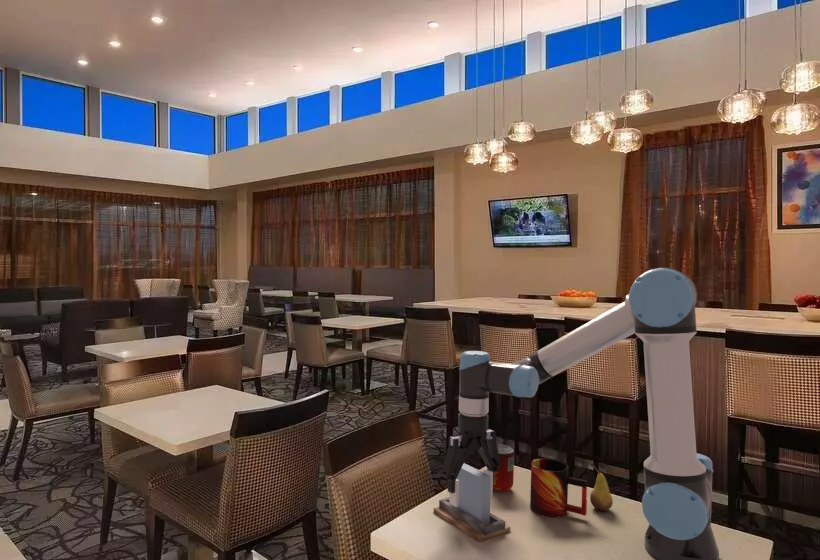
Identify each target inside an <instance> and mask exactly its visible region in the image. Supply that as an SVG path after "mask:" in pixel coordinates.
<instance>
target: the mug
mask: <svg viewBox="0 0 820 560" xmlns="http://www.w3.org/2000/svg"><path fill="white" fill-rule="evenodd" d="M569 485H572V486H576V487H579V488H580V487H581V506H577V505H574V504H569V503H568V502H569V501H568V498H569V497H568V496H569V495H568V494H569V492H568V491H569V490H568V489H569ZM587 491H588V480H585V479H582V478H576V477H571V476H569V465H568V464H567V463H565V462H563V461H560V460H556V459H554V458H553V459H551V458H537V459H533V460H532V461H531V463H530V500H529V501H530V503H529V505H530V506H529V507H530V508H529V509H530V511H531V512H532V513H533V514H536V515H538V516H541V517H544V518H545V517H546V518H551V519H552V518H553V519H556V518H563V517H565V516H567V513H568V512H570V513H573V514H577V515H581V516H587V506H588V505H587V504H588V499H587V496H588V495H587V493H588V492H587Z"/></svg>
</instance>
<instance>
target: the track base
mask: <svg viewBox="0 0 820 560" xmlns="http://www.w3.org/2000/svg"><path fill="white" fill-rule="evenodd" d="M438 503H439V504H438V506H437V507H433V513H434V514H436V515H438V516H439V518H440V517H441V518H442V519H443V520H445V521H446V522H449V523H450V524H451V525H453V526H454V527H456V528H458V530H461V531H463V533H465V534H467V535H468V536H470V537H472V538H473V539H475V540H476V541H478V542H482V541H486V540H488V539H491V538H494V537H496V536H500V535H502V534H506V533H508V532H511V526H510V525H508V524H507V523H506V520H504V519H502V518H500V517H499V516H497V515H495V514H493V513H492V512H490V524H488V525H486V524H484V523H482V522H481V521H479V520H477V519H476V518H474V517H472V516H471V515H469V514H467V513H466V512H464V511H462V510H461V509H459V508H457V507H455V506H453V505H451V504H450V503H449V497H446V498H442V499H439V501H438Z"/></svg>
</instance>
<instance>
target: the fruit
mask: <svg viewBox="0 0 820 560" xmlns="http://www.w3.org/2000/svg"><path fill="white" fill-rule="evenodd" d="M591 466H592V467H593V468H594V469H595V471H596V472H597V477H596V480H595V484H594V487H593V489H592V490H591V492H590V495H589V496H590V497H589V498H590V501H589V502H590V503H591V505H592V506H593V508H595V509H596V510H599V511H602V512H603V511H604V512H605V511H608V510H610V508H611V507H612V506H613V503H614V502H613V501H614V500H613V496H612V495H611V493H610V488H609V485H608V481H607V479H606V477H605V475H604V474H603V473H602V472H599V470H598V469H597V467H596V466H595V464H593V463H592V464H591Z"/></svg>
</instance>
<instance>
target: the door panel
mask: <svg viewBox="0 0 820 560" xmlns="http://www.w3.org/2000/svg"><path fill="white" fill-rule="evenodd" d="M457 479H458V480H459V507H457V508H459V509H461V510H462V511H464V512H466V513H467V514H469V515H471V516H472V517H474V518H476V519H477V520H479V521H481V522H482V523H484V524H486V525H488V524H490V513H491V497H490V490H491V476H490V475H488V474H486V473H484V471H481V470H479V469H477V468H475V467H473V466H471V465H469V464H466V463H465V462H464V464H463V466H462V468H461V470H460V472H459V475H458V477H457Z"/></svg>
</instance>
